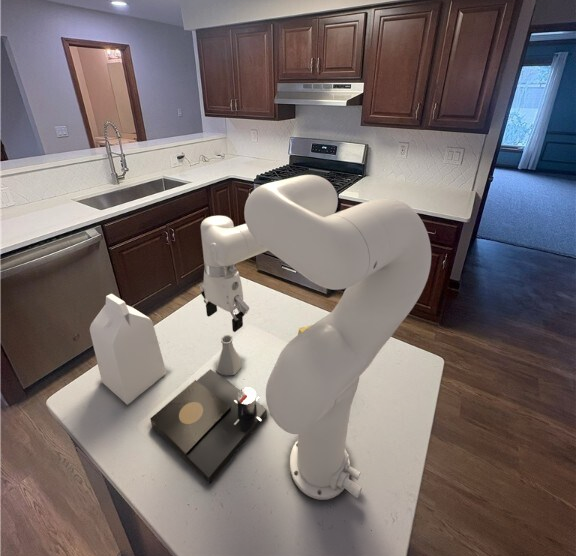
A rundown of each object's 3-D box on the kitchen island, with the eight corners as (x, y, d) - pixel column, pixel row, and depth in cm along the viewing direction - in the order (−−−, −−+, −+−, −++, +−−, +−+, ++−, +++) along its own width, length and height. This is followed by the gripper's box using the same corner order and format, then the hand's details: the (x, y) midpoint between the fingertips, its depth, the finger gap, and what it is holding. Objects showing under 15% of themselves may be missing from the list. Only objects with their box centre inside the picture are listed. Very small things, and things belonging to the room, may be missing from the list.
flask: (236, 378, 85) (234, 350, 81) (211, 374, 86) (208, 346, 83) (245, 358, 92) (243, 331, 88) (222, 354, 93) (219, 327, 89)
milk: (166, 373, 87) (151, 295, 76) (127, 404, 78) (104, 321, 68) (140, 354, 93) (124, 280, 83) (101, 381, 84) (77, 302, 74)
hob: (272, 412, 76) (272, 406, 75) (212, 486, 62) (211, 480, 61) (214, 371, 87) (213, 365, 87) (151, 425, 73) (150, 419, 72)
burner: (230, 408, 75) (230, 407, 75) (186, 455, 65) (185, 453, 65) (195, 381, 82) (195, 379, 82) (150, 420, 72) (150, 418, 72)
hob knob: (246, 398, 77) (245, 383, 75) (260, 408, 75) (259, 392, 73) (234, 412, 74) (232, 396, 72) (248, 422, 72) (247, 406, 70)
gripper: (257, 270, 74) (258, 326, 81) (208, 249, 84) (213, 301, 90) (234, 285, 69) (238, 344, 76) (185, 260, 78) (192, 315, 85)
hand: (224, 321), depth 83 cm, fingers open, 9 cm apart
